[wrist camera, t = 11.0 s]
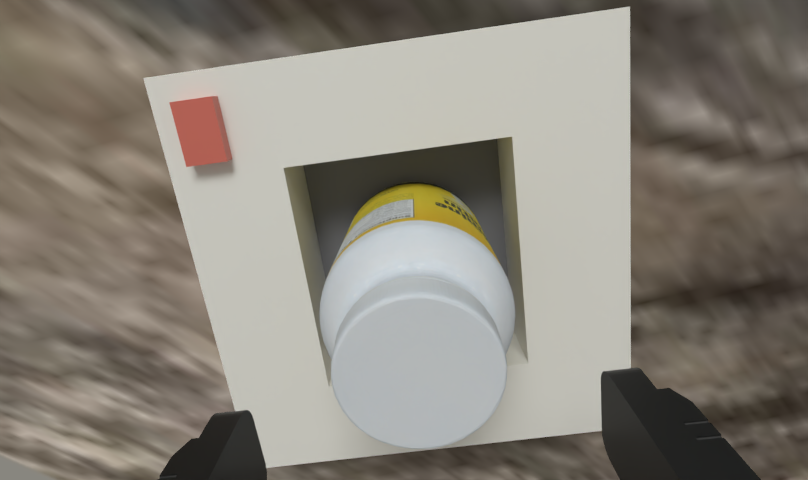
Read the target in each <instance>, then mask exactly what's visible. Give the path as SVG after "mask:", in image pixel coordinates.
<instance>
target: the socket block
mask: <svg viewBox="0 0 808 480" xmlns="http://www.w3.org/2000/svg"><path fill="white" fill-rule="evenodd" d="M143 79H144V82H145V86H146V90H147V93H148V97H149V100H150V104H151V108H152V111H153V115H154V119H155V122H156V126H157V129H158V133H159V137H160V140H161V144H162V148H163V151H164V155H165V158H166V162H167V166H168V169H169V173H170V176H171V180H172V184H173V187H174V191H175V195H176V198H177V202H178V205H179V209H180V213H181V216H182V220H183V224H184V227H185V231H186V234H187V238H188V242H189V245H190V249H191V252H192V256H193V260H194V263H195V267H196V271H197V274H198V278H199V281H200V285H201V289H202V292H203V296H204V300H205V303H206V307H207V310H208V314H209V318H210V321H211V325H212V329H213V332H214V336H215V339H216V343H217V347H218V350H219V354H220V357H221V361H222V365H223V368H224V372H225V376H226V379H227V383H228V386H229V390H230V394H231V397H232V401H233V405H234V408H235V411H242V410H248V411H250V413H251V414H252V416H253V419H254V423H255V427H256V430H257V434H258V438H259V441H260V445H261V449H262V452H263V456H264V460H265V464H266V468H269V467H279V466H288V465H297V464H306V463H315V462H324V461H333V460H342V459H351V458H360V457H369V456H378V455H387V454H396V453H405V452H414V451H424V450H433V449H442V448H451V447H460V446H469V445H478V444H487V443H496V442H505V441H514V440H523V439H532V438H541V437H550V436H560V435H569V434H578V433H587V432H596V431H602V418H601V374H602V372H603V371H611V370H620V369H629V368H631V263H630V7H624V8H618V9H611V10H604V11H597V12H590V13H584V14H577V15H570V16H563V17H556V18H549V19H543V20H536V21H529V22H522V23H515V24H509V25H502V26H495V27H488V28H481V29H475V30H468V31H461V32H454V33H447V34H441V35H434V36H427V37H420V38H413V39H406V40H400V41H393V42H386V43H379V44H372V45H366V46H359V47H352V48H345V49H338V50H332V51H325V52H318V53H311V54H304V55H298V56H291V57H284V58H277V59H270V60H263V61H257V62H250V63H243V64H236V65H229V66H223V67H216V68H209V69H202V70H195V71H189V72H182V73H175V74H168V75H161V76H155V77H148V78H143ZM404 182H427V183H431V184H435V185H438V186H441V187H443V188H445V189H447V190H449V191H451V192H453V193H454V194H455V195H457V196H458V197H459V198H460V199H462V200H463V201H464V202H465V203H466V204H467V206H468V207H469V208H470V209H471V211H472V212H473V214H474V215H475V217H476V219H477V221H478V223H479V225H480V226H481V228H482V230H483V232H484V234H485V236H486V238H487V240H488V242H489V244H490V246H491V248H492V249H493V251H494V253H495V255H496V257H497V259H498V261H499V263H500V264H501V266H502V268H503V270H504V272H505V274H506V276H507V278H508V281H509V283H510V286H511V289H512V293H513V297H514V304H515V326H514V332H513V337H512V340H511V343H510V346H509V348H508V351H507V353H506V360H507V381H506V386H505V391H504V393H503V396H502V399H501V401H500V403H499V405H498V406H497V408H496V410H495V412H494V413H493V414H492V416H491V417H490V418H489V419H488V420H487V421H486V422H485V423H484V424H483V425H482V426H481V427H480V428H479V429H478V430H477V431H475V432H474V433H472V434H470V435H469V436H467V437H466V438H464V439H462V440H459V441H457V442H454V443H452V444H449V445H446V446H442V447H438V448H430V449H410V448H402V447H397V446H393V445H389V444H386V443H383V442H380V441H378V440H376V439H374V438H372V437H370V436H369V435H367V434H366V433H365V432H363V431H362V430H360V429H359V428H358V427H356V426H355V425H354V423H352V422H351V421H350V419H349V418H348V417H347V416H346V414H345V413H344V412H343V410H342V409H341V407H340V405H339V403H338V401H337V399H336V397H335V394H334V390H333V387H332V381H331V361H332V359H331V357H330V356H329V354H328V351H327V349H326V346H325V344H324V341H323V337H322V334H321V328H320V318H319V311H320V301H321V295H322V291H323V287H324V284H325V281H326V279H327V276H328V274H329V271H330V269H331V267H332V265H333V262H334V260H335V258H336V256H337V254H338V251H339V249H340V247H341V245H342V243H343V240H344V238H345V236H346V234H347V231H348V229H349V227H350V225H351V222H352V220H353V219H354V217H355V215H356V214H357V212H358V210H359V209H360V208H361V207H362V205H363V204H364V203H365V202H366V201H367V200H368V199H369V198H371V197H372V196H373V195H375V194H376V193H377V192H379V191H381V190H383V189H384V188H387V187H389V186H392V185H395V184H399V183H404Z"/></svg>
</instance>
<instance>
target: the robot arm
mask: <svg viewBox="0 0 808 480" xmlns="http://www.w3.org/2000/svg"><path fill="white" fill-rule="evenodd" d="M601 418H602V435H603V441H604V445H605V449H606V452H607V455H608V457H609V459H610V461H611V463H612V465H613V467H614V469H615V471H616V473H617V475H618V476H619V478H620V480H761V479H760V478H759V477H758V476H757V475H756V474H755V473H754V471H753V470H752V469H751V468H750V467H749V466H748V465H747V464H746V462H745V461H744V460H743V459H742V458H741V457H740V456H739V454H738V453H737V452H736V451H735V450H734V449H733V448H732V447H731V445H730V444H729V443H728V442H727V441H726V440H725V439H724V438H722V437H721V434H720V433H719V432H718V431H717V430H716V428H715V427H714V426H713V425H712V424H711V423H708V419H707V418H706V417H705V416H704V415H703V414H702V412H701V411H700V410H699V409H698V408H697V407H696V406H695V405H694V403H693V402H691V401H690V400H688V399H686V398H685V397H683V396H681V395H680V394H678V393H676V392H675V391H673V390H671V389H670V388H666V389H656V388H655V386H654V385H653V384H652V383H651V381H650V380H649V379H648V378H647V376H646V375H645V374H644V373H643V371H642V370H641V369H639V368H629V369H620V370H611V371H603V372H602V374H601ZM158 480H267V471H266V464H265V460H264V456H263V452H262V449H261V445H260V441H259V438H258V434H257V430H256V427H255V423H254V419H253V416H252V414H251V413H250V411H248V410H242V411H233V412H224V413H216V414H214V415H213V416H212V417H211V419H210V420H209V422H208V424H207V425H206V427H205V429H204V430H203V432H202V434H201V435H200V437H199V438H196V439H191V440H190V441H189V442H187V443H186V444H185V445H184V446H183V447H182V448H181V449H180V450H179V451H177V452H176V453H175V454H174V455H173V456H172V457H171V459H170V460H169V462H168V463H167V465H166V467H165V468H164V470H163V471H162V473H161V474H160V479H158Z"/></svg>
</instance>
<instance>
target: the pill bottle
mask: <svg viewBox="0 0 808 480" xmlns="http://www.w3.org/2000/svg"><path fill="white" fill-rule="evenodd" d="M319 318H320V328H321V334H322V337H323V341H324V344H325V346H326V349H327V351H328V354H329V356H330V357H331V359H332V361H331V381H332V387H333V390H334V394H335V397H336V399H337V401H338V403H339V405H340V407H341V409H342V410H343V412H344V413H345V414H346V416H347V417H348V418H349V419H350V421H351V422H352V423H354V425H355V426H356V427H358V428H359V429H360V430H362V431H363V432H365V433H366V434H367V435H369V436H370V437H372V438H374V439H376V440H378V441H380V442H383V443H386V444H389V445H393V446H397V447H402V448H410V449H430V448H438V447H442V446H446V445H449V444H452V443H454V442H457V441H459V440H462V439H464V438H466V437H467V436H469V435H470V434H472V433H474V432H475V431H477V430H478V429H479V428H480V427H481V426H482V425H483V424H484V423H485V422H486V421H487V420H488V419H489V418H490V417H491V416H492V414H493V413H494V412H495V410H496V408H497V406H498V405H499V403H500V401H501V399H502V396H503V393H504V391H505V386H506V381H507V360H506V353H507V351H508V348H509V346H510V343H511V340H512V337H513V332H514V326H515V304H514V297H513V293H512V289H511V286H510V283H509V281H508V278H507V276H506V274H505V272H504V270H503V268H502V266H501V264H500V263H499V261H498V259H497V257H496V255H495V253H494V251H493V249H492V248H491V246H490V244H489V242H488V240H487V238H486V236H485V234H484V232H483V230H482V228H481V226H480V225H479V223H478V221H477V219H476V217H475V215H474V214H473V212H472V211H471V209H470V208H469V207H468V206H467V204H466V203H465V202H464V201H463V200H462V199H460V198H459V197H458V196H457V195H455V194H454V193H453V192H451V191H449V190H447V189H445V188H443V187H441V186H438V185H435V184H431V183H427V182H404V183H399V184H395V185H392V186H389V187H387V188H384V189H383V190H381V191H379V192H377V193H376V194H375V195H373V196H372V197H371V198H369V199H368V200H367V201H366V202H365V203H364V204H363V205H362V207H361V208H360V209H359V210H358V212H357V214H356V215H355V217H354V219H353V220H352V222H351V225H350V227H349V229H348V231H347V234H346V236H345V238H344V240H343V243H342V245H341V247H340V249H339V251H338V254H337V256H336V258H335V260H334V262H333V265H332V267H331V269H330V271H329V274H328V276H327V279H326V281H325V284H324V287H323V291H322V295H321V301H320V311H319Z"/></svg>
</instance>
